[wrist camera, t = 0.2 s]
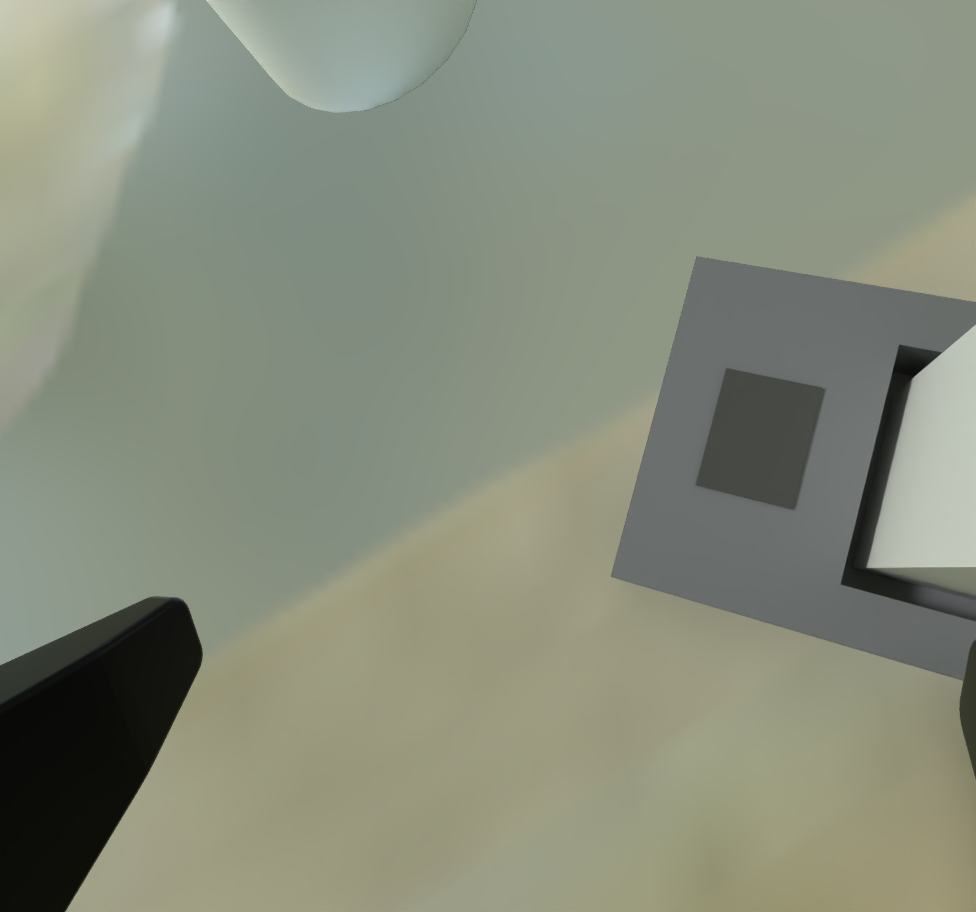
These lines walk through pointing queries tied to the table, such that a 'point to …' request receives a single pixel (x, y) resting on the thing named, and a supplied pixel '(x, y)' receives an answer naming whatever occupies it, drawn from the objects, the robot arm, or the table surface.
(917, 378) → the block
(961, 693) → the robot arm
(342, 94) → the base with upright slab
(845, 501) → the power strip
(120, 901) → the table surface
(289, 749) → the table surface
